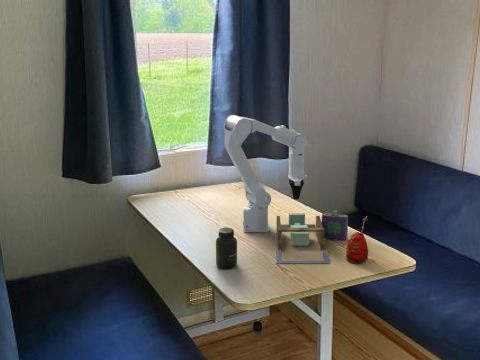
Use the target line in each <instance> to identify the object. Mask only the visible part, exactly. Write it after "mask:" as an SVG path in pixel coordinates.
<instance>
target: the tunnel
mask: <svg viewBox="0 0 480 360" xmlns="http://www.w3.org/2000/svg"><path fill="white" fill-rule="evenodd" d="M281 224H282V223H281V216H280V215H276V240H277V241H276V243H277V250H280V251H282V247H283V246H282V244H283V243H282V239H283V238H282V233H290V232H309V233H315V234H316V239H317V242H318V247H319V249H320V251H322V250H325V239H324V232H325V230H324V228H323V226H322V218H321V216H320V215H316V216H315V227H316V228H281Z"/></svg>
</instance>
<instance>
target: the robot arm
mask: <svg viewBox="0 0 480 360" xmlns="http://www.w3.org/2000/svg"><path fill="white" fill-rule="evenodd" d="M222 128H223V131H224V148H225V150H226V152H227V153H228V155H229V157H230V159H231V162H232V163H233V165H234V167H235V170H236V171H237V173H238V176H239V177H240V179H241V181H242V183H243V185H244V187H243V189H244V192H245V198H246V200H247V201H248V205H243V208H242V209H243V213H242V214H243V216H242V217H243V218H242V219H243V220H242V226H243V233H270V223H269V206H270V205H271V202H272V196H271V194H270V192H268V191H266V189H265V188H264V186H263V185H262V184H261V182H260V181H259V179H258V177H257V176H256V174H255V172H254V170H253V167H252V166H251V163H250V162H249V160H248V158H247V156H246V154H245V152H244V150H243V148H242V145H243V142H244V141H245V140H246V139H247V137H248V136H249V135H250V133H251V134H253V133H255V132H256V131H257V132H259V133H262V134H266V135H269V136H271V139H272V140H273V141H275V142H277V143H280V144H283V145H284V146H285V145H286V146H288V175H287V176H288V184H289V186H290V188H291V193H292V199H293V200H300V197H301V191H302V189H303V187H304V185H305V181H304V179H307V178H308V175H307V174H305V152H306V147H307V146H308V143H309V141H308V140H307V137H306V135H304V134H303V133H299V132H296V131H297V130H295V129H289V128H287V126H285V125H283V124H281V125H277V126H275V127H273V126H271V125H269V124H266V123H264V122H263V121H262V122H261V121H259V120H257V119H253V118H249V117H246V116H238V115H236V114H231V115H229V116H228V117H227V118H226V119H225V122H224V124H223V127H222Z"/></svg>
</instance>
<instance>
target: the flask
mask: <svg viewBox="0 0 480 360" xmlns="http://www.w3.org/2000/svg"><path fill="white" fill-rule="evenodd" d="M321 222H322V226H323V228H324V230H325V232H324V240H330V241H348V230H349V229H348V226H349V216H348V215H347V214H338V210H336V209H335V210H333V212H332V213H331V212H326V213H322V215H321Z"/></svg>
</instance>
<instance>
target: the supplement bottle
mask: <svg viewBox="0 0 480 360" xmlns="http://www.w3.org/2000/svg"><path fill="white" fill-rule="evenodd" d="M234 230H235V229H233V228H232V227H222V228H219V229H218V237H217V238H216V239H215V264H216V265H215V266H216V267H217V268H219V269H222V270H231V269H234V268H236V267H237V265H238V240H237V238H236V237H235V231H234Z"/></svg>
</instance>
